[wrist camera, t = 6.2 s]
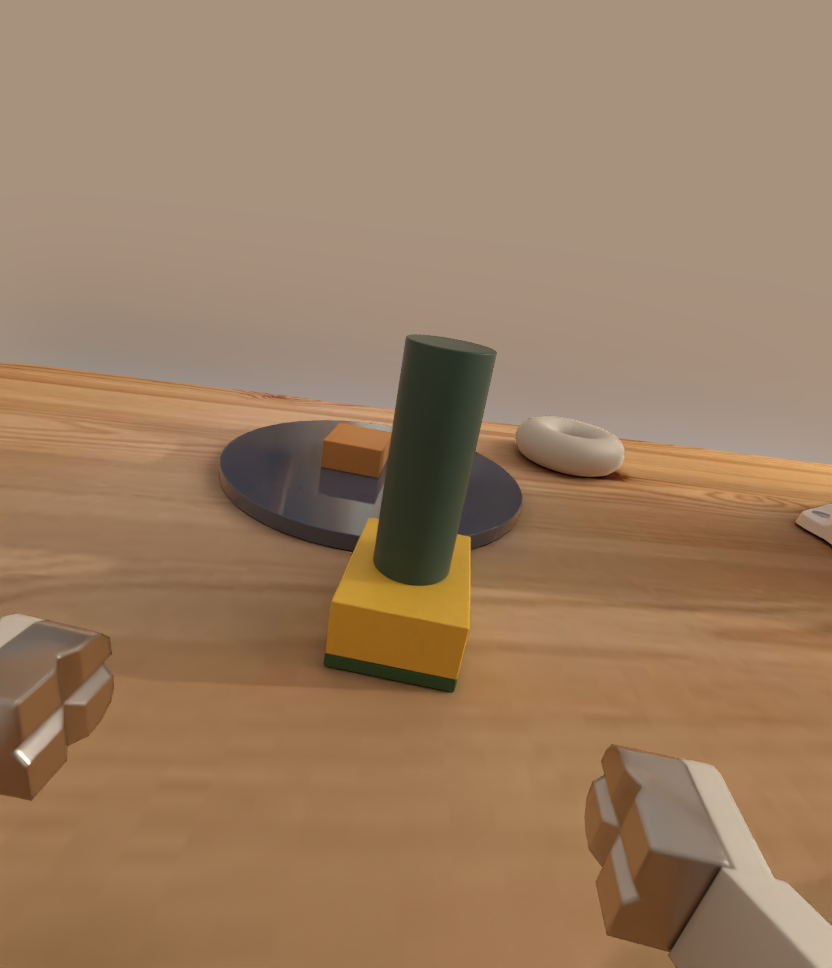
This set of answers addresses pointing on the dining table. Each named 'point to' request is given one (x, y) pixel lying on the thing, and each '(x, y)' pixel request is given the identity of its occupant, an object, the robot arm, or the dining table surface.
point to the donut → (570, 446)
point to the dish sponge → (417, 527)
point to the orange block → (356, 450)
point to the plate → (342, 487)
